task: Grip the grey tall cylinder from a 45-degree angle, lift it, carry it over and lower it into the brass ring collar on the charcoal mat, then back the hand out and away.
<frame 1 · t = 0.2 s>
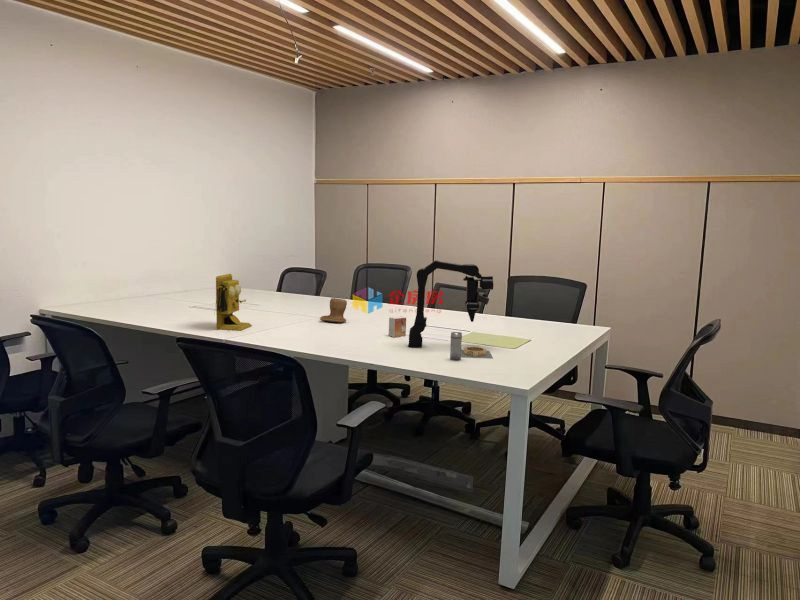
hand: (471, 320, 300), 15 cm above the table, tool pointing down, fingers open, 9 cm apart
vintage telephone: (234, 328, 338), on the table
grey tall cylinder: (455, 360, 275), on the table
small box: (397, 336, 329), on the table
stone cup: (334, 322, 368), on the table
mat: (474, 355, 287), on the table
ring collar: (474, 354, 287), resting on mat
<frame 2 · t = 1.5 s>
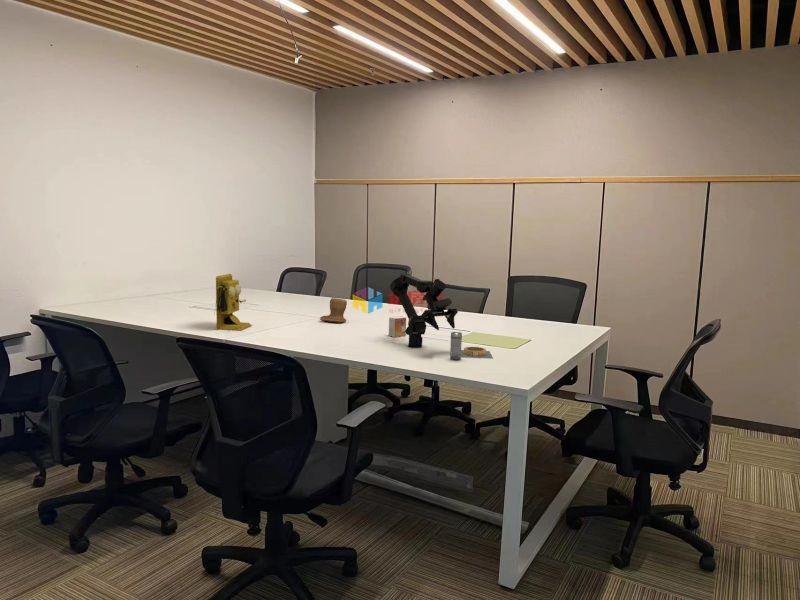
hand: (446, 328, 280), 13 cm above the table, tool tilted 45°, fingers open, 9 cm apart
nothing on the table moved.
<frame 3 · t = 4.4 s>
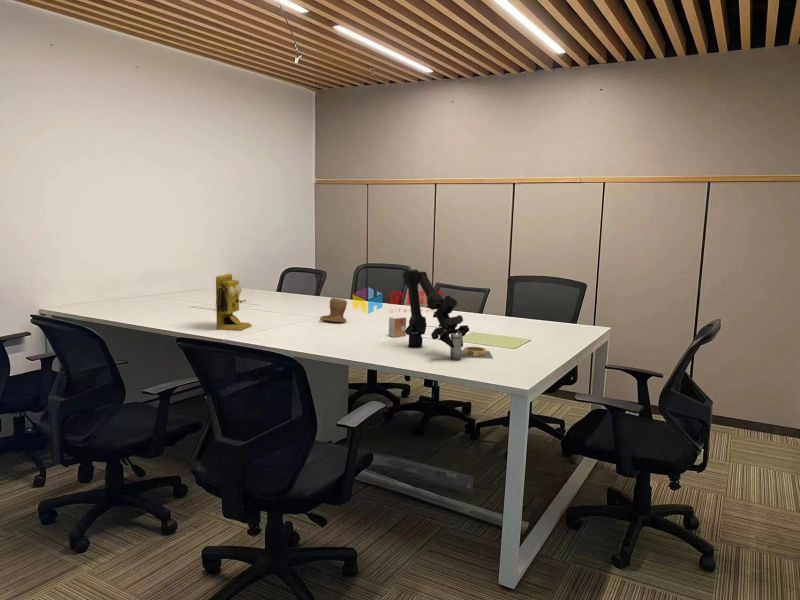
hand: (457, 347, 273), 7 cm above the table, tool tilted 45°, fingers closed on grey tall cylinder, 5 cm apart
grey tall cylinder: (455, 360, 275), on the table, touching gripper
everything else where it was.
when the fingers open (8 cm above the table, at t = 8.6 s): grey tall cylinder stays where it is, resting on mat.
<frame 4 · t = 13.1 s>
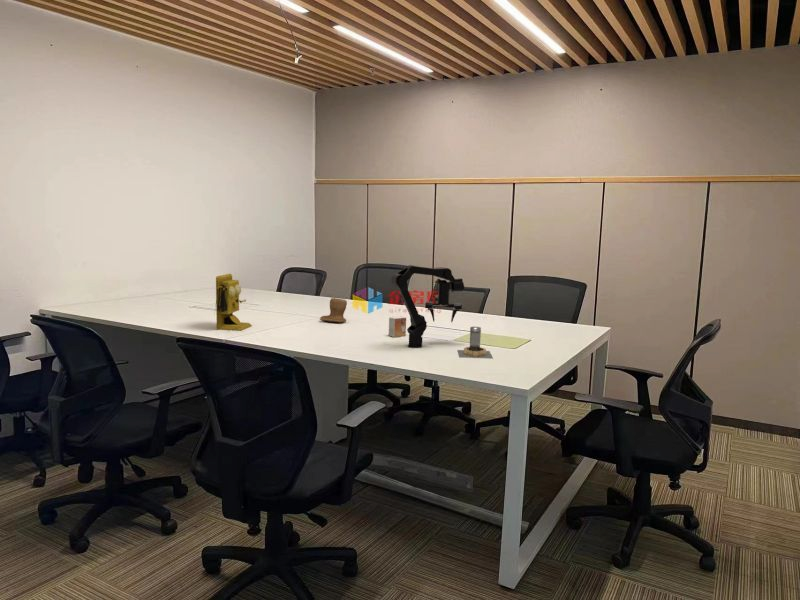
hand: (442, 321, 308), 12 cm above the table, tool pointing down, fingers open, 9 cm apart
grey tall cylinder: (474, 354, 287), point 1 cm above the table, touching mat
everything else where it was.
at the end: grey tall cylinder 0.1 cm off-centre on the ring collar, point 0.0 cm above the ring collar's base; grey tall cylinder tilted 0°; the gripper is holding nothing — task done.
